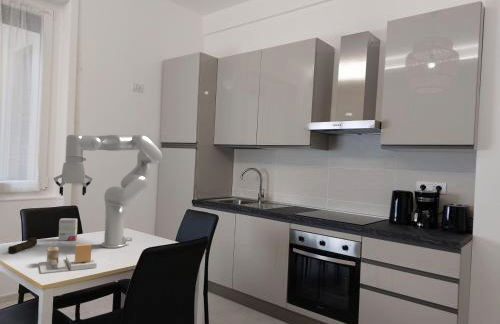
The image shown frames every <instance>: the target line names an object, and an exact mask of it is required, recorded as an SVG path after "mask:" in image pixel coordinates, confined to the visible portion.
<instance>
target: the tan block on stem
mask: <svg viewBox="0 0 500 324" xmlns="http://www.w3.org/2000/svg"><path fill="white" fill-rule="evenodd" d="M59 251H60V249H59V247H58V246H53V247H47V251H46V253H47V254H46V262H47V264H48V265H51V268H52V270H54V269H57V266H58V260H59V257H60V256H59V253H60V252H59Z"/></svg>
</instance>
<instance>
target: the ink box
mask: <svg viewBox="0 0 500 324" xmlns="http://www.w3.org/2000/svg"><path fill="white" fill-rule="evenodd" d="M77 235H78V218H71V217H70V218H67V217H66V218H60V219H59V221H58V241H59V242H61V241H63V242H64V241H65V240H66V242H67V241H71V242H72V241H74V242H75V241H76V240H77V239H78V238H77Z"/></svg>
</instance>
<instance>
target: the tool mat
mask: <svg viewBox="0 0 500 324" xmlns="http://www.w3.org/2000/svg"><path fill="white" fill-rule="evenodd" d="M66 263H67V262H66V259H60V260H59V259H58V266H57V269H54V270H52V268H51V265H48V264H47V261H39V262H38V266H39V271H40V272H39V273H40V274H41V275H42V274H44V275H45V274H51V273H52V274H53V273H60V272H68V271H69V269H68V266H67V264H66Z"/></svg>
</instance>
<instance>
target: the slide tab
mask: <svg viewBox="0 0 500 324" xmlns="http://www.w3.org/2000/svg"><path fill="white" fill-rule="evenodd" d="M74 248H75V249H74V255H75V263H78V262H89V261H91V256H92V243H82V244H80V243H79V244H78V243H77V244H75V245H74Z"/></svg>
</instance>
